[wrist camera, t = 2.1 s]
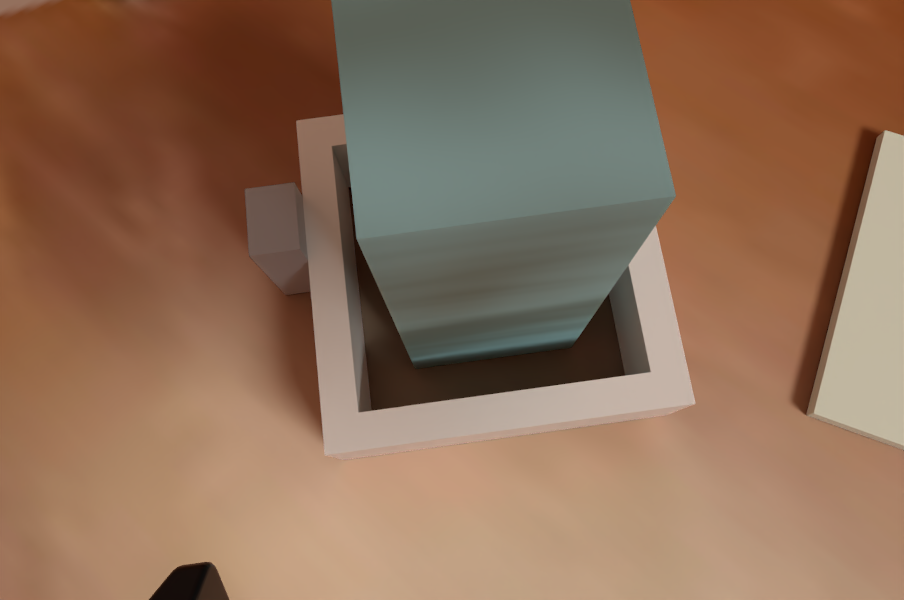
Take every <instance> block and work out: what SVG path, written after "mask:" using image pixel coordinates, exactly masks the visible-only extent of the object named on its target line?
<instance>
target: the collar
mask: <svg viewBox="0 0 904 600" xmlns="http://www.w3.org/2000/svg"><path fill="white" fill-rule="evenodd" d="M296 127H297V138H298V150H299V162H300V173H301V185H302V195H301V193H300V191H299V189H298V188H297V186H296V184H295V182H292V183H285V184H278V185H270V186H263V187H255V188H248V189H245V202H246V217H247V233H248V249H249V257H250V258H251V259H252V260H253V261H254V262H255V263H256V264H257V265H258V266H259V267H260V268H261V269H262V270H263V272H264V273H265V274H266V275H267V276H268V277H269V278H270V279H271V280H272V281H273V282H274V283H275V284H276V285H277V286H278V287H279V289H280V290H281V291H282V292H283V293H284V294H285V295H290V294H297V293H305V292H311V301H312V313H313V324H314V336H315V347H316V359H317V371H318V382H319V394H320V405H321V417H322V429H323V440H324V452H325V455H326V456H330V457H334V458H338V459H342V460H348V459H355V458H362V457H369V456H377V455H384V454H391V453H398V452H405V451H413V450H420V449H427V448H434V447H441V446H449V445H456V444H463V443H470V442H477V441H485V440H492V439H499V438H506V437H513V436H521V435H528V434H535V433H542V432H549V431H557V430H564V429H571V428H578V427H585V426H592V425H600V424H607V423H614V422H621V421H628V420H636V419H643V418H650V417H657V416H664V415H668V414H671V413H673V412H676V411H678V410H681V409H683V408H686V407H688V406H691V405H694V404H695V399H694V395H693V390H692V386H691V381H690V377H689V372H688V368H687V363H686V359H685V354H684V350H683V345H682V341H681V336H680V332H679V328H678V323H677V319H676V314H675V310H674V305H673V301H672V296H671V292H670V287H669V283H668V278H667V274H666V269H665V265H664V260H663V256H662V251H661V247H660V242H659V238H658V234H657V229H656V226H655V227H654V229H653V230H652V231H651V233H650V234H649V236H648V237H647V239H646V240H645V242H644V243H643V245H642V246H641V247H640V249H639V250H638V252H637V253H636V255H635V256H634V258H633V259H632V260H631V262H630V263H629V265H628V266H627V268H626V269H625V271H624V272H623V273H622V275H621V276H620V278H619V279H618V281H617V282H616V284H615V285H614V286H613V288H612V289H611V291H610V292H609V297H610V302H611V307H612V312H613V317H614V322H615V327H616V332H617V337H618V342H619V347H620V352H621V357H622V362H623V367H624V372H625V376H619V377H612V378H605V379H598V380H590V381H583V382H576V383H569V384H561V385H554V386H547V387H540V388H533V389H525V390H518V391H511V392H504V393H496V394H489V395H482V396H475V397H467V398H460V399H453V400H446V401H439V402H431V403H424V404H417V405H410V406H402V407H395V408H388V409H381V410H373V411H372V408H371V399H370V389H369V380H368V370H367V361H366V351H365V342H364V332H363V322H362V313H361V303H360V294H359V284H358V275H357V265H356V256H355V246H354V237H353V227H352V217H351V208H350V198H349V189H348V187H351V181H350V172H349V162H348V153H347V143H346V134H345V124H344V115H343V114H341V115H334V116H326V117H319V118H312V119H304V120H297V121H296Z"/></svg>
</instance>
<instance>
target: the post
mask: <svg viewBox="0 0 904 600" xmlns="http://www.w3.org/2000/svg"><path fill="white" fill-rule="evenodd" d="M331 1H332V11H333V20H334V30H335V39H336V48H337V58H338V67H339V77H340V86H341V96H342V105H343V115H344V124H345V134H346V143H347V153H348V162H349V172H350V181H351V190H352V200H353V209H354V219H355V228H356V238H357V241H358V243H359V246H360V248H361V250H362V252H363V255H364V257H365V259H366V261H367V263H368V266H369V268H370V270H371V272H372V275H373V277H374V279H375V281H376V283H377V286H378V288H379V290H380V292H381V294H382V297H383V299H384V301H385V303H386V306H387V308H388V310H389V312H390V314H391V317H392V319H393V321H394V323H395V326H396V328H397V330H398V332H399V334H400V337H401V339H402V341H403V343H404V345H405V348H406V350H407V352H408V354H409V357H410V359H411V361H412V363H413V365H414V368H415V369H419V368H427V367H434V366H441V365H448V364H456V363H463V362H470V361H477V360H485V359H492V358H499V357H506V356H514V355H521V354H528V353H535V352H543V351H550V350H557V349H565V348H571V347H572V346H573V344H574V343H575V341H576V340H577V339H578V337H579V336H580V334H581V333H582V331H583V330H584V328H585V327H586V326H587V324H588V323H589V321H590V320H591V318H592V317H593V315H594V314H595V313H596V311H597V310H598V308H599V307H600V305H601V304H602V302H603V301H604V300H605V298H606V297H607V295H608V294H609V292H610V291H611V289H612V288H613V286H614V285H615V284H616V282H617V281H618V279H619V278H620V276H621V275H622V273H623V272H624V271H625V269H626V268H627V266H628V265H629V263H630V262H631V260H632V259H633V258H634V256H635V255H636V253H637V252H638V250H639V249H640V247H641V246H642V245H643V243H644V242H645V240H646V239H647V237H648V236H649V234H650V233H651V231H652V230H653V229H654V227H655V226H656V224H657V223H658V221H659V220H660V218H661V217H662V216H663V214H664V213H665V211H666V210H667V208H668V207H669V205H670V204H671V203H672V201H673V200H674V198H675V197H676V194H675V190H674V186H673V181H672V177H671V173H670V169H669V164H668V160H667V156H666V152H665V147H664V143H663V139H662V135H661V130H660V126H659V122H658V117H657V113H656V109H655V105H654V100H653V96H652V92H651V88H650V83H649V79H648V75H647V71H646V66H645V62H644V58H643V54H642V49H641V45H640V41H639V37H638V32H637V28H636V24H635V19H634V15H633V11H632V7H631V2H630V0H331Z"/></svg>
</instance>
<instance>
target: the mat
mask: <svg viewBox="0 0 904 600" xmlns="http://www.w3.org/2000/svg"><path fill="white" fill-rule="evenodd" d="M806 415H807V416H810V417H813V418H815V419H818V420H821V421H824V422H827V423H829V424H832V425H835V426H838V427H841V428H843V429H846V430H849V431H852V432H854V433H857V434H860V435H863V436H866V437H868V438H871V439H874V440H877V441H880V442H882V443H885V444H888V445H891V446H894V447H896V448H899V449H902V450H904V136H902V135H899V134H896V133H893V132H889V131H886V130H885V131H884V132H882V133H881V134H880V135H879V136H878V137H877V139H876V143H875V147H874V150H873V154H872V158H871V162H870V166H869V170H868V174H867V178H866V182H865V186H864V190H863V194H862V198H861V202H860V206H859V209H858V213H857V217H856V221H855V225H854V229H853V233H852V237H851V241H850V245H849V249H848V253H847V257H846V261H845V264H844V268H843V272H842V276H841V280H840V284H839V288H838V292H837V296H836V300H835V304H834V308H833V312H832V316H831V319H830V323H829V327H828V331H827V335H826V339H825V343H824V347H823V351H822V355H821V359H820V363H819V367H818V371H817V375H816V378H815V382H814V386H813V390H812V394H811V398H810V402H809V406H808V410H807V414H806Z"/></svg>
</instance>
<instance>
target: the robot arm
mask: <svg viewBox="0 0 904 600" xmlns="http://www.w3.org/2000/svg"><path fill="white" fill-rule="evenodd" d="M149 600H229V598H228V595H227V593H226V590H225V588H224V586H223V583H222V581H221V578H220V576H219V573H218V571H217V569H216V567H215V566H214V565H213V564H212V563H210V562H202V563H195V564H188V565H182V566H179V567H177V568H176V569H175V570H173V571H172V572H171V574H170V575H169V576H168V577H167V578H166V580H165V581H164V582H163V583H162V584H161V586H160V587H159V588H158V589H157V590H156V592H155V593H154V594H153V595H152V597H151V598H150V599H149Z"/></svg>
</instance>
